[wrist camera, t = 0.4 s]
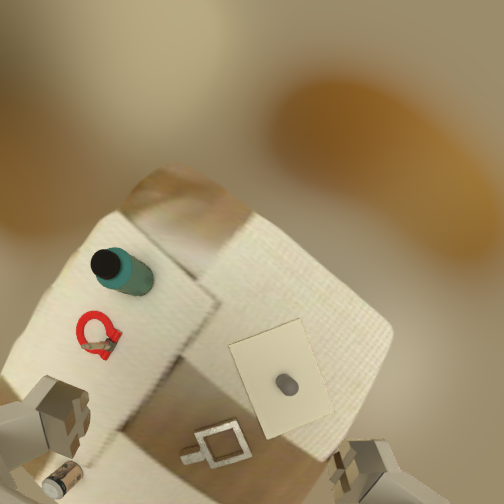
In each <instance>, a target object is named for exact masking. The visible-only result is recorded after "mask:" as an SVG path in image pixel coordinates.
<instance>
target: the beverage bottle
mask: <svg viewBox="0 0 504 504" xmlns="http://www.w3.org/2000/svg"><path fill="white" fill-rule="evenodd" d="M91 269H92V271H93V273H94V274H95V275H96V278H97V280H98V281H99V283H100V284H101V285H103V286H104V287H106V288H109V289H113V290H117V291H119V292H122V293H125V294H130V295H134V296H135V297H136V296H140V295H143V294H144V295H145V293H147V292H148V291H149V290H150V288H151V286H152V283H153V280H154V278H153V275H152V272H151V270H150V269H149V266H148V267H147V266H146V265H145V263H144V264H143V262H140V261H139V260H137V259H136V258H134V257H133V256H131V255H130V254H128V253H127V252H126V251H124V250H123V249H121V248H115V247H114V248H109V249H102V250H99V251H97V252H96V253H95V254H94V255H93V257H92V259H91Z"/></svg>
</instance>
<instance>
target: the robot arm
mask: <svg viewBox="0 0 504 504" xmlns="http://www.w3.org/2000/svg"><path fill="white" fill-rule="evenodd" d="M88 402H89V395H88V392H87V391H85V390H82V389H79V388H77V387H74V386H72V385H70V384H67V383H65V382H62V381H59V380H57V379H55V378H52V377H50V376H48V375H46V376H44V377H42V379H41V380H40V381H39V382H38V383H37V384H36V386H35V387H34V388H33V389H32V390H31V391H30V393H29V394H28V395H27V396H26V397H25V399H24V400H23V401H22V402H21V403H20V402H18V401H16V402H13V403H10V404H6V405H3V406H0V504H42V503H39V502H37V501H35V500H34V499H32V498H30V497H28V496H26V495H24V494H22V493H20V492H18V491H17V490H16V489H17V486H16V483H15V481H14V479H13V478H12V476H11V474H10V471H12V470H14V469H16V468H18V467H20V466H22V465H24V464H26V463H27V462H29V461H31V460H33V459H35V458H37V457H39V456H41V455H42V454H44V453H46V452H48V451H49V450H51V451H54V452H56V453H59V454H61V455H64V456H66V457H69V458H71V459H73V457H74V455H75V453H76V451H77V449H78V448H79V446H80V443H79V438H81V437H83V436H85V434H86V432H87V430H88V427H89V424H90V410H89V408H88V407H87V403H88ZM338 448H339V452H337V453H335V454H334V455H333V456H332V458H331V460H330V461H329V466H328V476H329V480H330V481H332V482H333V483H334V484H335V485H334V487H333V488H332V493H333V496H334V501H335V504H357V503H359V504H451V502H449V501H448V500H446V499H445V498H443V497H442V496H440V495H439V494H437V493H436V492H434V491H433V490H431V489H430V488H428V487H427V486H425V485H424V484H422V483H421V482H420V481H418V480H417V479H415V478H414V477H412V476H411V475H410V474H408V473H407V472H405V471H401V470H400V468H399V466H398V464H397V461H396V459H395V457H394V455H393V453H392V451H391V449H390V446H389V444H388V442H387V441H386V440H385V439H344V440H343V441H341V443H340V444H339V446H338Z"/></svg>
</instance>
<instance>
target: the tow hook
mask: <svg viewBox="0 0 504 504" xmlns="http://www.w3.org/2000/svg"><path fill="white" fill-rule="evenodd" d="M91 319H98V320H100V321H101V322H102V323H103V324H104V326H105V329H106V335H107V336H108V337H110V338H107V339H106V340H105V341H100V342H96V343H88V342H87V341H86V339H85V337H84V326H85V324H86V323H87V322H88V321H89V320H91ZM121 334H122V332H121V331H119V330H117V329H114V328H113V325H112V323H111V321H110V319H109V318H108V317H107V316H106V315H105V314H103V313H101V312H98V311H90V312H87V313H85V314H84V315H82V317H81V318H80V319H79V321H78V323H77V327H76V335H77V340H78V342H79V344H80V345H81V348H82V349H85V350H86V351H87V352H90V353H93V354H99V355H100V356H101V358H102V359H103V360H107V359H108V357H109V355H110V353H111V352H112V351H113V349H114V347H115V345H116V344H117V341H118V339H119V337H120V336H121Z"/></svg>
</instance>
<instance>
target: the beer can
mask: <svg viewBox="0 0 504 504" xmlns="http://www.w3.org/2000/svg"><path fill="white" fill-rule="evenodd" d="M82 476H83V473H82V470H81V468H80V467H79V466H78V465H77V464H76V463H74V462H70V461H68V462H66V463H65V464H63V465H62V466H61V467H60V468H58V469H57V470H56V471H55V472H53V473H52V474H51V475H50V476H48V477H47V478H46V479H45V480H43V482H42V489H43V491H44V493H45V494H46V495H47V496H48V497H49V498H52V499H61V498H62V497H63V496H64V495H65V494H66V493H67V492H68V491H69V490H70V489H71V488H72V487H73V486H74V485H75V484H76V483H77V482H78V481H79V480H80V479H81V478H82Z"/></svg>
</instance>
